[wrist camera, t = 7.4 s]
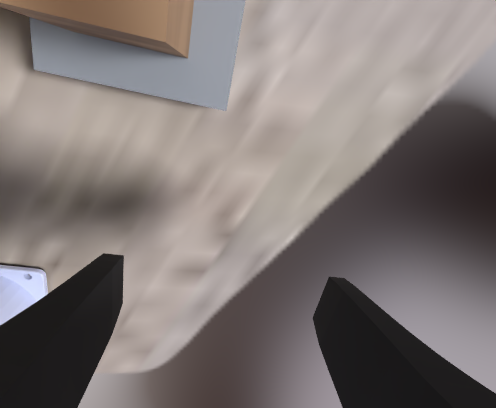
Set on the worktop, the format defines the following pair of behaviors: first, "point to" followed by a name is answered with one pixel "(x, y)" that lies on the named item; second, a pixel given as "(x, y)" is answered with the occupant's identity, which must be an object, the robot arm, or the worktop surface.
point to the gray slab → (151, 57)
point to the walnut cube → (118, 20)
